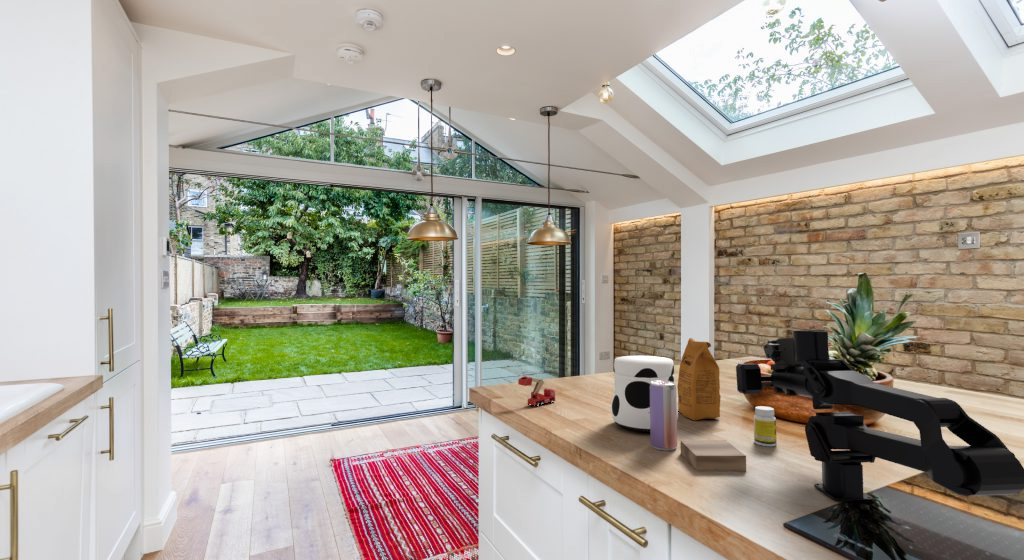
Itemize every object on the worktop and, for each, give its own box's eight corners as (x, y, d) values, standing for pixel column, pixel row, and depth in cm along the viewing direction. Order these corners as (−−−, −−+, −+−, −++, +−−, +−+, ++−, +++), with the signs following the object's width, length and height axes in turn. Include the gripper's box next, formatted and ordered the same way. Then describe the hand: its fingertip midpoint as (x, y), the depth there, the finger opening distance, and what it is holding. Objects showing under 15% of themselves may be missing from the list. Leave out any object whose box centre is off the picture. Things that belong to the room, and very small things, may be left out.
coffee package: (705, 410, 146) (704, 337, 146) (725, 421, 133) (723, 341, 134) (673, 410, 145) (672, 337, 146) (689, 422, 133) (688, 342, 133)
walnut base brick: (746, 470, 97) (746, 455, 97) (696, 470, 98) (696, 455, 98) (726, 453, 107) (725, 440, 107) (680, 453, 108) (680, 440, 108)
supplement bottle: (779, 447, 111) (778, 411, 111) (757, 446, 112) (756, 410, 112) (772, 441, 116) (772, 405, 116) (751, 440, 117) (750, 405, 117)
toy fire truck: (556, 402, 157) (556, 373, 157) (525, 410, 148) (525, 378, 148) (549, 401, 159) (549, 371, 160) (518, 408, 151) (517, 377, 151)
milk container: (623, 415, 141) (622, 353, 141) (684, 423, 132) (683, 357, 132) (602, 430, 126) (601, 361, 126) (670, 440, 117) (668, 366, 117)
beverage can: (650, 450, 110) (649, 384, 111) (650, 442, 116) (649, 379, 116) (677, 452, 109) (676, 385, 109) (676, 444, 114) (675, 380, 115)
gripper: (844, 339, 98) (795, 338, 113) (755, 341, 97) (717, 340, 112) (849, 395, 96) (798, 387, 112) (759, 398, 95) (720, 388, 111)
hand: (759, 374), depth 112 cm, fingers open, 9 cm apart
